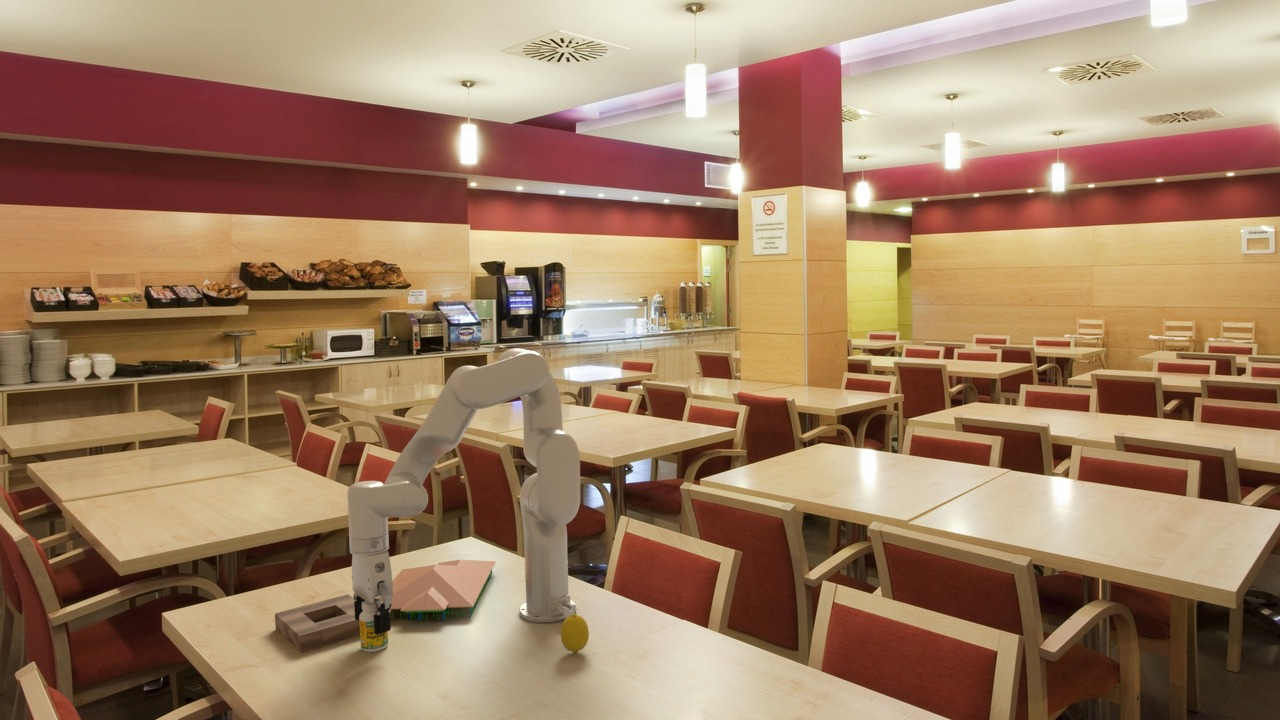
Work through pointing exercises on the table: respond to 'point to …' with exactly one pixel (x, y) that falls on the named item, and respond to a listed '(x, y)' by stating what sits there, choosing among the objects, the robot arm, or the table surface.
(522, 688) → the table surface
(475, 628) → the table surface
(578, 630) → the lemon
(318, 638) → the holder
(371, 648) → the supplement bottle
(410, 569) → the house
